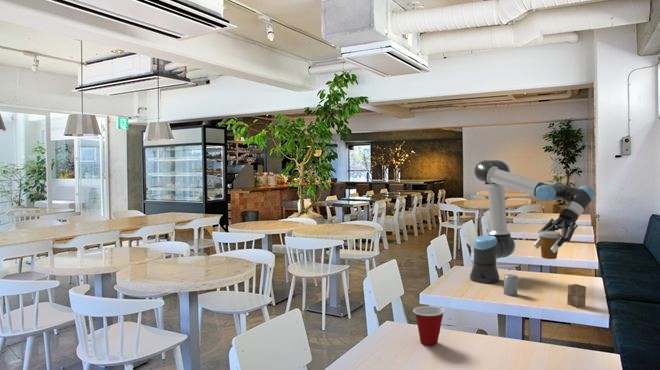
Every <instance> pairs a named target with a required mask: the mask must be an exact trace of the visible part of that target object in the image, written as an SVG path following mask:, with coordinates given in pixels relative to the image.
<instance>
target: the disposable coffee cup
mask: <svg viewBox="0 0 660 370" xmlns="http://www.w3.org/2000/svg"><path fill="white" fill-rule="evenodd" d="M539 231H540V230H539ZM539 231H538V232H539ZM537 234H538V237H540V247H539V248H540V257H541V259H546V260H556V259H558V257H557V256H558V251H559V249H558V250H557V251H556V252H555V253H553V251H552V250H551V247H552V246H553V245H554V243H555V242H556V241H557V239H558V238H560V237H561V231H557V230H555V231H540V232H539V233H537ZM560 239H561V238H560Z"/></svg>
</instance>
